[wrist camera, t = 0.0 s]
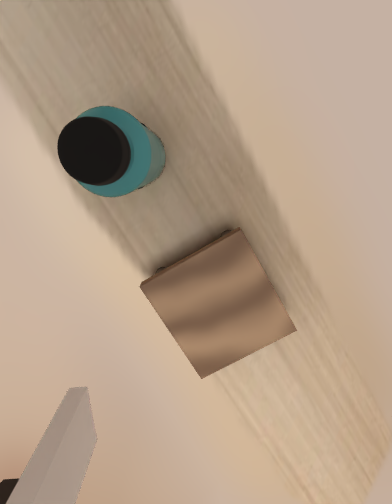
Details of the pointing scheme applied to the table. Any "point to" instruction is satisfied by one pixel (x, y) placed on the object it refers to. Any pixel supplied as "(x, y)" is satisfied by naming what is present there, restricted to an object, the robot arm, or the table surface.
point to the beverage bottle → (110, 152)
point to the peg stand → (218, 303)
